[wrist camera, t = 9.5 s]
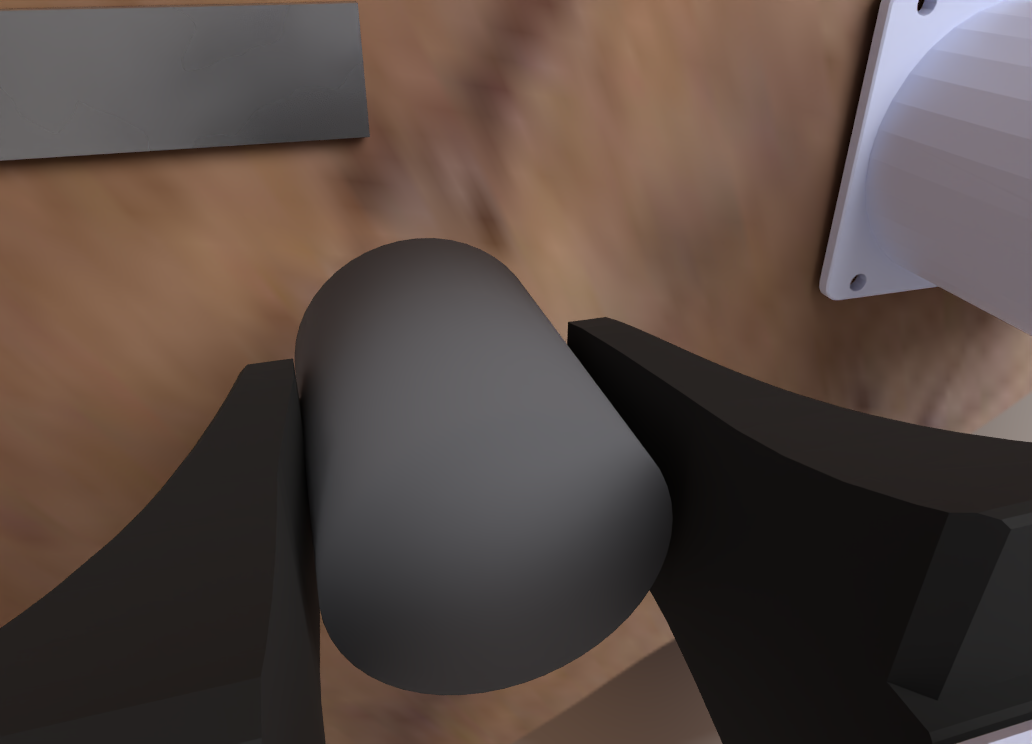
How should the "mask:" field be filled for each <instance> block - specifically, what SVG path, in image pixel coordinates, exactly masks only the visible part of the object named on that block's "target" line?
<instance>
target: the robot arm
mask: <svg viewBox="0 0 1032 744" xmlns="http://www.w3.org/2000/svg"><path fill="white" fill-rule="evenodd" d="M918 1H919V0H881V3H880V7H879V12H878V17H877V21H876V26H875V30H874V35H873V39H872V44H871V49H870V53H869V58H868V62H867V67H866V71H865V76H864V81H863V85H862V90H861V94H860V99H859V103H858V108H857V113H856V117H855V122H854V126H853V131H852V135H851V140H850V145H849V149H848V154H847V158H846V163H845V167H844V172H843V177H842V181H841V186H840V190H839V195H838V199H837V204H836V209H835V213H834V218H833V222H832V227H831V231H830V236H829V241H828V245H827V250H826V254H825V259H824V263H823V268H822V273H821V277H820V282H819V288H820V291H821V293H823V294H824V295H825V296H827V297H829V298H830V299H832V300H844V299H852V298H859V297H866V296H874V295H881V294H888V293H896V292H903V291H910V290H918V289H925V288H932V287H940V288H942V289H944V290H946V291H948V292H950V293H952V294H954V295H955V296H957V297H959V298H961V299H963V300H965V301H967V302H969V303H970V304H972V305H974V306H976V307H978V308H980V309H982V310H984V311H986V312H987V313H989V314H991V315H993V316H995V317H997V318H999V319H1001V320H1002V321H1004V322H1006V323H1008V324H1010V325H1012V326H1014V327H1016V328H1017V329H1019V330H1021V331H1023V332H1025V333H1027V334H1029V335H1031V336H1032V0H924V4H923V6H922V8H921V9H920V10H919V11H917V4H918ZM856 275H857V278H856V280H855V281H854V282H853V283H852V284H851V285H850V283H851V281H852V279H853V278H854V277H855V276H856ZM567 345H568V347H569V348H570V349H571V351H572V352H573V353H574V355H575V356H576V357H577V359H578V360H579V361H580V363H581V364H582V365H583V367H584V368H585V369H586V371H587V372H588V373H589V375H590V376H591V377H592V379H593V380H594V381H595V383H596V384H597V385H598V387H599V388H600V389H601V391H602V392H603V393H604V395H605V396H606V398H607V399H608V400H609V402H610V403H611V404H612V406H613V407H614V408H615V410H616V411H617V412H618V414H619V415H620V416H621V418H622V419H623V420H624V422H625V423H626V424H627V426H628V427H629V428H630V430H631V431H632V432H633V434H634V435H635V436H636V438H637V439H638V440H639V442H640V443H641V444H642V446H643V447H644V448H645V450H646V451H647V453H648V454H649V455H650V457H651V458H652V459H653V461H654V462H655V464H656V465H657V466H658V468H659V469H660V471H661V473H662V475H663V477H664V480H665V482H666V484H667V486H668V490H669V494H670V498H671V502H672V515H673V522H672V534H671V539H670V543H669V548H668V552H667V555H666V557H665V560H664V563H663V565H662V568H661V570H660V572H659V574H658V576H657V578H656V580H655V582H654V583H653V585H652V587H651V588H650V592H651V593H652V595H653V597H654V599H655V601H656V602H657V604H658V606H659V608H660V610H661V611H662V613H663V615H664V617H665V619H666V620H667V622H668V625H669V627H670V629H671V631H672V633H673V635H674V637H675V639H676V641H677V643H678V646H679V648H680V650H681V652H682V654H683V656H684V658H685V661H686V663H687V665H688V667H689V669H690V671H691V673H692V675H693V677H694V680H695V682H696V684H697V686H698V689H699V691H700V693H701V695H702V698H703V700H704V702H705V705H706V707H707V709H708V711H709V714H710V716H711V718H712V721H713V723H714V725H715V727H716V729H717V732H718V734H719V736H720V738H721V741H722V743H723V744H1032V442H1023V441H1014V440H1007V439H1000V438H993V437H986V436H979V435H972V434H965V433H959V432H953V431H947V430H942V429H936V428H930V427H925V426H920V425H915V424H910V423H906V422H901V421H897V420H892V419H887V418H883V417H878V416H874V415H869V414H865V413H861V412H857V411H854V410H850V409H846V408H842V407H839V406H835V405H832V404H829V403H825V402H822V401H818V400H815V399H812V398H808V397H805V396H802V395H798V394H795V393H792V392H789V391H786V390H783V389H781V388H778V387H775V386H772V385H769V384H767V383H764V382H762V381H759V380H756V379H754V378H751V377H748V376H746V375H743V374H741V373H738V372H735V371H733V370H731V369H728V368H726V367H723V366H721V365H718V364H716V363H714V362H711V361H709V360H707V359H704V358H702V357H700V356H698V355H695V354H693V353H691V352H689V351H686V350H684V349H682V348H680V347H677V346H675V345H673V344H671V343H669V342H666V341H664V340H662V339H660V338H657V337H655V336H653V335H651V334H648V333H646V332H644V331H642V330H639V329H637V328H635V327H632V326H630V325H627V324H625V323H622V322H619V321H617V320H614V319H610V318H607V317H603V318H596V319H588V320H581V321H573V322H568V339H567ZM0 744H325V734H324V725H323V715H322V705H321V687H320V607H319V599H318V589H317V579H316V570H315V560H314V550H313V540H312V530H311V520H310V510H309V500H308V490H307V480H306V467H305V454H304V437H303V428H302V418H301V408H300V400H299V393H298V387H297V381H296V375H295V369H294V363H293V359H286V360H279V361H271V362H264V363H256V364H248V365H246V367H245V368H244V369H243V370H242V371H241V372H240V374H239V376H238V378H237V380H236V382H235V383H234V385H233V387H232V389H231V391H230V392H229V394H228V396H227V398H226V399H225V401H224V403H223V404H222V406H221V407H220V409H219V411H218V412H217V414H216V416H215V417H214V419H213V420H212V422H211V423H210V424H209V426H208V427H207V429H206V430H205V432H204V433H203V435H202V436H201V438H200V439H199V441H198V442H197V444H196V445H195V446H194V448H193V449H192V451H191V452H190V453H189V455H188V456H187V457H186V458H185V460H184V461H183V462H182V463H181V465H180V466H179V467H178V469H177V470H176V471H175V472H174V474H173V475H172V476H171V477H170V479H169V480H168V481H167V482H166V484H165V485H164V486H163V487H162V489H161V490H160V491H159V492H158V493H157V494H156V495H155V497H154V498H153V499H152V500H151V501H150V502H149V503H148V505H147V506H146V507H145V508H144V509H143V510H142V511H141V512H140V513H139V514H138V515H137V516H136V517H135V518H134V519H133V520H132V521H131V522H130V523H129V524H128V525H127V526H126V527H125V528H124V529H123V530H122V531H121V532H120V533H119V534H118V535H117V536H116V537H114V538H113V539H112V540H111V541H110V542H109V543H108V544H107V545H105V546H104V547H103V548H102V549H101V550H100V551H98V552H97V553H96V554H95V555H94V556H92V557H91V558H90V559H89V560H88V561H87V562H85V563H84V564H83V565H82V566H81V567H79V568H78V569H77V570H76V571H75V572H74V573H72V574H71V575H70V576H69V577H68V578H66V579H65V580H64V581H63V582H62V583H61V584H59V585H58V586H57V587H56V588H54V589H53V590H52V591H51V592H49V593H48V594H47V595H45V596H44V597H43V598H41V599H40V600H39V601H37V602H36V603H35V604H33V605H32V606H31V607H29V608H28V609H27V610H25V611H24V612H23V613H21V614H20V615H18V616H17V617H16V618H14V619H13V620H12V621H10V622H9V623H7V624H6V625H4V626H3V627H1V628H0Z"/></svg>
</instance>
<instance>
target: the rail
mask: <svg viewBox="0 0 1032 744" xmlns="http://www.w3.org/2000/svg"><path fill="white" fill-rule="evenodd" d="M359 137H370V134H369V123H368V112H367V101H366V90H365V79H364V68H363V57H362V46H361V35H360V24H359V13H358V3H357V2H356V1H348V2H301V3H254V4H206V5H159V6H112V7H65V8H17V9H0V161H2V160H17V159H33V158H48V157H64V156H79V155H95V154H111V153H126V152H142V151H157V150H173V149H188V148H204V147H219V146H235V145H251V144H266V143H282V142H297V141H313V140H328V139H344V138H359Z"/></svg>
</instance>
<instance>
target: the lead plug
mask: <svg viewBox="0 0 1032 744" xmlns="http://www.w3.org/2000/svg"><path fill="white" fill-rule="evenodd" d="M295 370H296V380H297V387H298V393H299V400H300V408H301V418H302V428H303V437H304V454H305V467H306V480H307V490H308V500H309V510H310V520H311V530H312V540H313V550H314V560H315V570H316V579H317V589H318V599H319V607H320V611H321V615H322V619H323V623H324V625H325V627H326V630H327V632H328V634H329V636H330V638H331V640H332V641H333V643H334V644H335V645H336V647H337V648H338V649H339V651H340V652H341V653H342V654H343V655H344V656H345V657H346V658H347V659H348V660H349V661H350V662H351V663H352V664H353V665H354V666H356V667H357V668H358V669H360V670H361V671H363V672H364V673H366V674H367V675H369V676H371V677H373V678H375V679H377V680H379V681H381V682H383V683H385V684H388V685H391V686H394V687H397V688H400V689H403V690H408V691H413V692H418V693H424V694H435V695H466V694H476V693H484V692H489V691H494V690H500V689H504V688H508V687H511V686H515V685H518V684H522V683H525V682H528V681H530V680H533V679H536V678H538V677H541V676H544V675H546V674H548V673H550V672H552V671H554V670H556V669H559V668H561V667H563V666H565V665H566V664H568V663H570V662H572V661H573V660H575V659H577V658H579V657H580V656H582V655H583V654H585V653H586V652H588V651H589V650H591V649H592V648H593V647H595V646H596V645H598V644H599V643H600V642H602V641H603V640H604V639H605V638H606V637H608V636H609V635H610V634H611V633H613V632H614V631H615V630H616V629H617V628H618V627H619V626H620V625H621V624H622V623H623V622H624V621H625V620H626V619H627V618H628V617H629V616H630V615H631V614H632V612H633V611H634V610H635V609H636V608H637V606H638V605H639V604H640V603H641V602H642V600H643V599H644V597H645V596H646V594H647V593H648V591H649V590H650V588H651V587H652V585H653V583H654V582H655V580H656V578H657V576H658V574H659V572H660V570H661V568H662V565H663V563H664V560H665V557H666V555H667V552H668V548H669V543H670V539H671V534H672V522H673V515H672V502H671V498H670V494H669V490H668V486H667V484H666V482H665V480H664V477H663V475H662V473H661V471H660V469H659V468H658V466H657V465H656V464H655V462H654V461H653V459H652V458H651V457H650V455H649V454H648V453H647V451H646V450H645V448H644V447H643V446H642V444H641V443H640V442H639V440H638V439H637V438H636V436H635V435H634V434H633V432H632V431H631V430H630V428H629V427H628V426H627V424H626V423H625V422H624V420H623V419H622V418H621V416H620V415H619V414H618V412H617V411H616V410H615V408H614V407H613V406H612V404H611V403H610V402H609V400H608V399H607V398H606V396H605V395H604V393H603V392H602V391H601V389H600V388H599V387H598V385H597V384H596V383H595V381H594V380H593V379H592V377H591V376H590V375H589V373H588V372H587V371H586V369H585V368H584V367H583V365H582V364H581V363H580V361H579V360H578V359H577V357H576V356H575V355H574V353H573V352H572V351H571V349H570V348H569V347H568V345H567V344H566V343H565V341H564V340H563V339H562V337H561V336H560V334H559V333H558V332H557V330H556V329H555V328H554V326H553V325H552V324H551V322H550V321H549V320H548V318H547V317H546V316H545V314H544V313H543V312H542V310H541V309H540V308H539V306H538V305H537V304H536V302H535V301H534V300H533V298H532V297H531V296H530V294H529V293H528V292H527V290H526V289H525V288H524V286H523V285H522V284H521V282H520V281H519V279H518V278H517V277H516V276H515V275H514V274H513V273H512V272H511V271H510V270H509V269H508V268H507V267H506V266H505V265H504V264H503V263H501V262H500V261H499V260H497V259H496V258H495V257H493V256H491V255H489V254H488V253H486V252H484V251H482V250H480V249H478V248H475V247H473V246H470V245H468V244H464V243H460V242H456V241H452V240H445V239H436V238H421V239H410V240H403V241H398V242H394V243H391V244H387V245H383V246H381V247H378V248H376V249H373V250H371V251H368V252H366V253H364V254H362V255H361V256H359V257H357V258H355V259H354V260H352V261H350V262H349V263H348V264H346V265H345V266H344V267H342V268H341V269H340V270H338V271H337V272H336V273H335V274H334V275H333V276H332V277H331V278H330V279H329V280H328V281H327V282H326V283H325V284H324V285H323V286H322V287H321V289H320V290H319V291H318V292H317V294H316V295H315V296H314V298H313V299H312V301H311V303H310V304H309V306H308V308H307V310H306V311H305V314H304V316H303V319H302V321H301V324H300V326H299V331H298V335H297V339H296V346H295Z"/></svg>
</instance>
